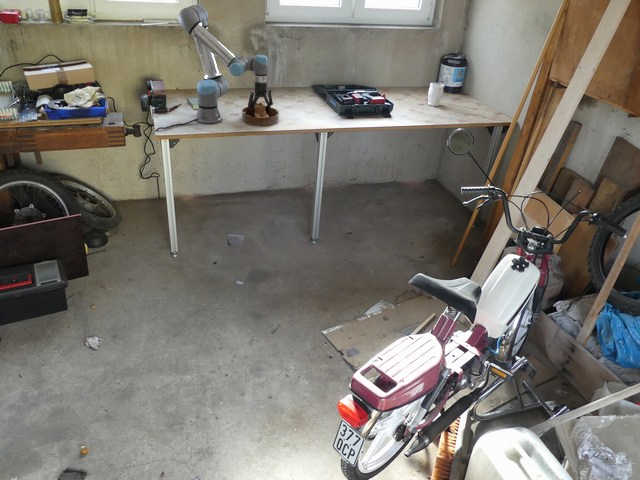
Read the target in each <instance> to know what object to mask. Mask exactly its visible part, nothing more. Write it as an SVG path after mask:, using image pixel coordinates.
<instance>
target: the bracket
mask: <svg viewBox="0 0 640 480" xmlns="http://www.w3.org/2000/svg"><path fill="white" fill-rule="evenodd" d="M265 106H266V103H264V102H261V101H259V102H258V101H257V102H256V104H255V106H254V108H255V117H260V118H265V117H269V115H268V114H267V113H266V111H265Z"/></svg>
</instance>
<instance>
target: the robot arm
mask: <svg viewBox="0 0 640 480" xmlns="http://www.w3.org/2000/svg"><path fill="white" fill-rule="evenodd" d="M208 21H209V14H208V12H207V10H206V9H205V8H204V7H203V6H202V5H199V4H193V5H190V6H187V7H184V8H182V9H181V10H179V13H178V22H179V25H180V26H181V28H182V29H183V30H184V31H185V32H186V33H187V34H188V35H189V36H190V37H193V39H194V42H195V46H196V51H197V53H198V56H199V59H200V63H201V66H202V69H203V73H204V76H203V80H200V81H199V82H198V83H197V88H196V90H197V105H198V107H197V110H196V111H197V112H196V114H195V119H193V120H189V121H187V122H184V123H175V124H172V125H167V126H165V127H164V126H161V127H157V128H156V130H155V132H158V131H159V130H166V129H170V128H172V127H176V126H184V125H189V124H191V123H193V122H197V123H200V124H207V125H208V124H209V125H210V124H212V125H213V124H217V123H220V122H221V121H222V117H221V116H222V115H221V113H220V109H219V107H218V105H219V104H218V103H219V102H218V101H219V100H218V99H219V98H221V97H223V96H224V95H225V94H226V92H227V91H228V87H229V85H228V81H227V80H226V78H224V76H223V73H222V72H221V71H219V69H218V64H217V61H216V58H217V59H218V60H219V61H220V62H221V63H222V64H223V65H225V66H226V67H227V68H228V71H229V73H230V74H231V75H232V76H233V77H239V76H242V75H243V74H244V73H245V72H247V71H252V72H254V90H250V91H249V93H250V94H249V98H248V102H247V107H249V108H251V113H252V117H255V108H254V106H255V104H256V102H257V103H258V100H259V98H263V99H264V101H265V106H266V113H267V114H268V115H269V111H270V107H271V108H272V106H274V105H273V104H274V102H273V97H272V90H271V89H270V88H269V89H267V88H268V67H269V63H268V56H267V55H264V54H255V56H254V57H249V56H245V55H244V56H243V55H237V56H235V55H234V53H232V52H231V51H230V50H229V49H228V48H227V47H226V46H224V44H222V43H221V42H220V41H219V40H218V39H217V38H216V37H215V36H213V34H212V33H210V32H209V30H208V29H209V25H208ZM159 183H160V182H159V177H158V176H157V177H156V186H157V187H156V188H157V197H158V201H161V193H160V184H159Z"/></svg>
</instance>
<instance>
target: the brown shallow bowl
mask: <svg viewBox="0 0 640 480" xmlns="http://www.w3.org/2000/svg"><path fill="white" fill-rule="evenodd" d="M266 106H267V105H265V111H266ZM279 115H280V112H279V110H278V109H277V108H275V107H272V106H271V107H270V111H269V117H265V118H260V117H252V113H251V108H249V107H248V106H246V107H244V108H242V110H241V120H242V122H243V123H245V124H247V125H250V126H254V127H269V126H270V127H271V126H273V125H276V124H277V123H278V122H279V121H280V120H279V117H280V116H279Z"/></svg>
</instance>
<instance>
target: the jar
mask: <svg viewBox="0 0 640 480" xmlns="http://www.w3.org/2000/svg"><path fill="white" fill-rule="evenodd" d="M444 88H445V84H444V83H441V82H430V83H429V88H428V92H427V95H428V96H427V100H428V102H427V105H429V106H432V107H438V106H440V102H441V100H442V99H443V96H444Z"/></svg>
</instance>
